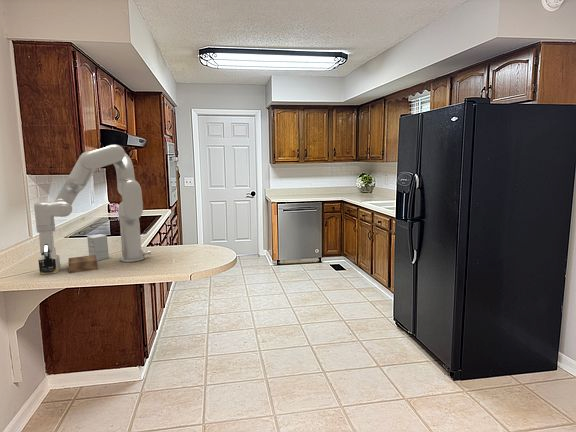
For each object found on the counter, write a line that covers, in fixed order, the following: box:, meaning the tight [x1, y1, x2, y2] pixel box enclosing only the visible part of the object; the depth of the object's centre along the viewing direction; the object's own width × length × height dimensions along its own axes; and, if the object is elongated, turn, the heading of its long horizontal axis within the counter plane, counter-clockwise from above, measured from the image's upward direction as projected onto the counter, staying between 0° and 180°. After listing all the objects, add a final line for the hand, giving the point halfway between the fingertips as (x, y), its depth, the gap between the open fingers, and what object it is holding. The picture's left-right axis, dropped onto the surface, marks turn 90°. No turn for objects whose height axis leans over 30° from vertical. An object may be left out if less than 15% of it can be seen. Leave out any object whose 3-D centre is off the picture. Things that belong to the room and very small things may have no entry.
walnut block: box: [67, 255, 98, 274], centre depth 197 cm, size 12×12×5 cm
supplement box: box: [86, 233, 110, 262], centre depth 214 cm, size 7×7×13 cm
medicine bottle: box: [38, 246, 62, 275], centre depth 191 cm, size 7×7×12 cm
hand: (49, 264), depth 192 cm, fingers closed on medicine bottle, 7 cm apart
